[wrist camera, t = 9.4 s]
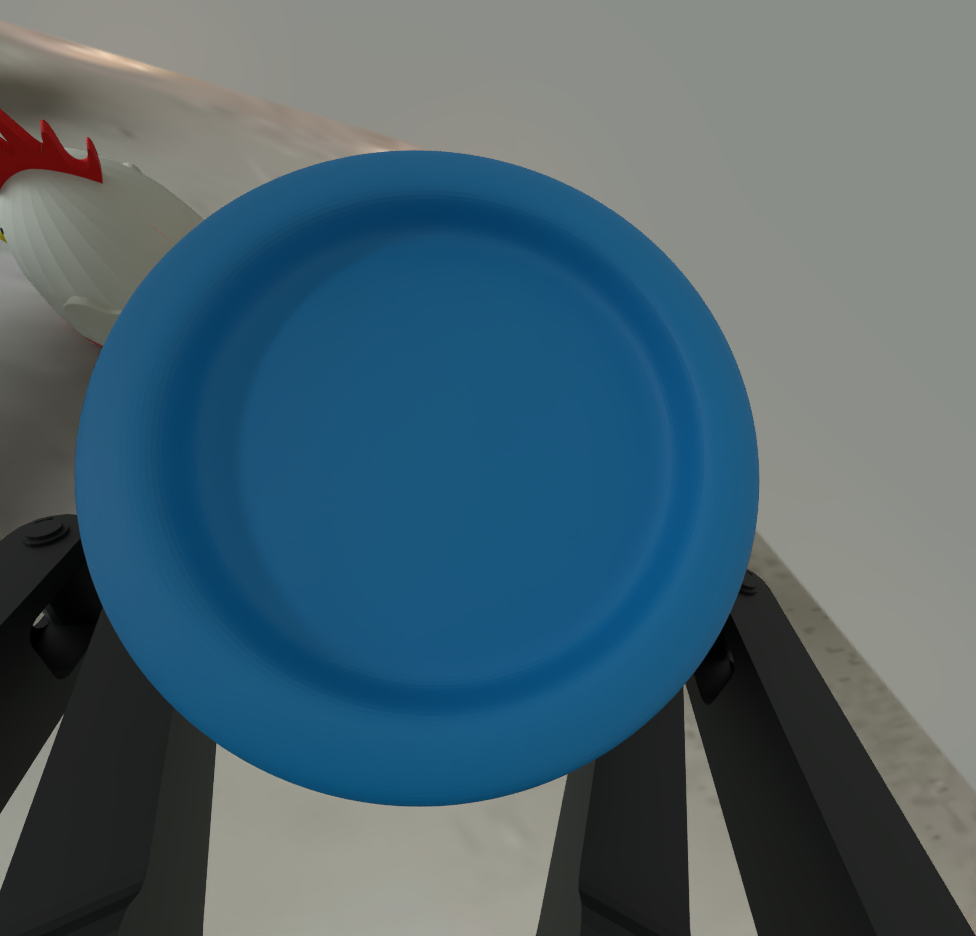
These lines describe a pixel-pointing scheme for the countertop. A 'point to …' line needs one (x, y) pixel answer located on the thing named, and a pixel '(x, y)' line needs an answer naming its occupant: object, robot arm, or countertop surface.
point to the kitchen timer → (83, 225)
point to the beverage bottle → (417, 478)
